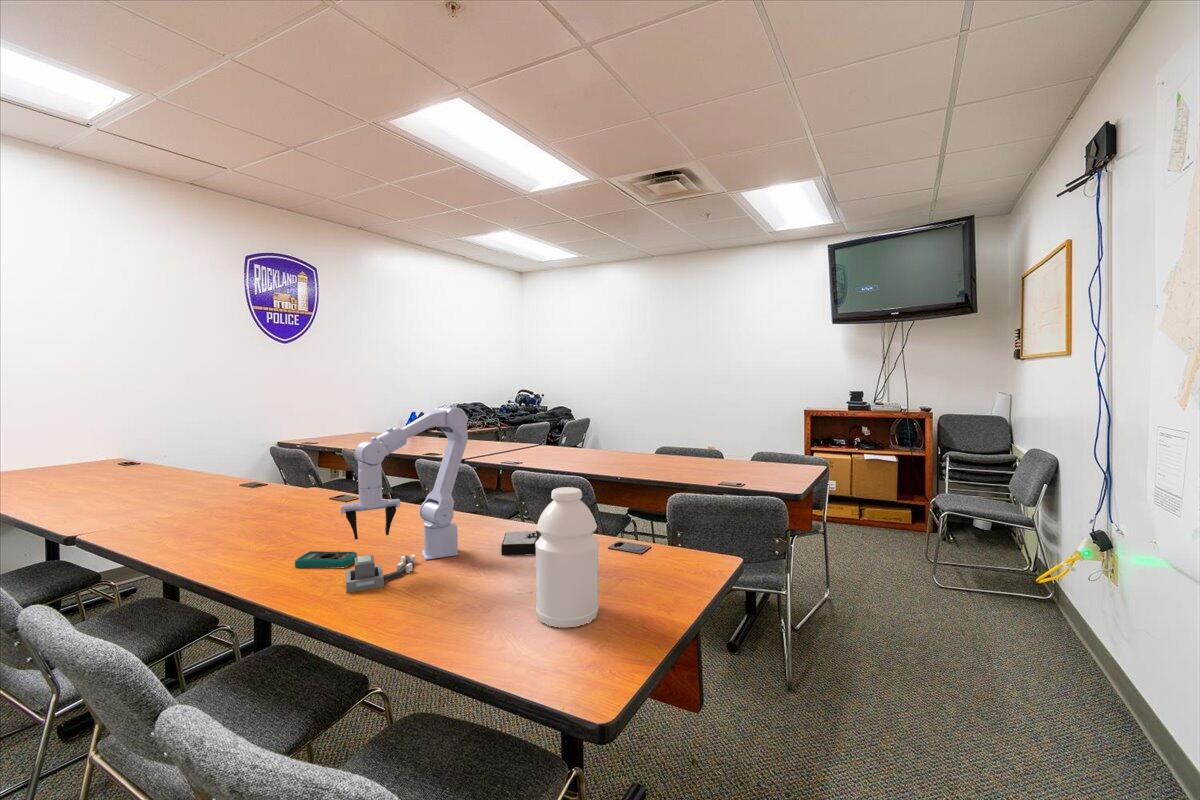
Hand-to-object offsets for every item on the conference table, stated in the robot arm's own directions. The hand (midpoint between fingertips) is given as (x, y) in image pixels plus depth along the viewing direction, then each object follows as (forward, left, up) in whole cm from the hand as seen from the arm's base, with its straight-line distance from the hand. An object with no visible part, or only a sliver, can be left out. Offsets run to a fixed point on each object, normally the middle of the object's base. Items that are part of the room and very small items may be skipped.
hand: (371, 536), depth 140 cm
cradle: (+2, +7, -10) cm, 12 cm away
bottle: (-38, +46, -10) cm, 61 cm away
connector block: (+2, +7, -10) cm, 12 cm away
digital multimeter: (+12, -13, -11) cm, 20 cm away
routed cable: (-6, +1, -10) cm, 12 cm away
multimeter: (-46, 0, -11) cm, 47 cm away
